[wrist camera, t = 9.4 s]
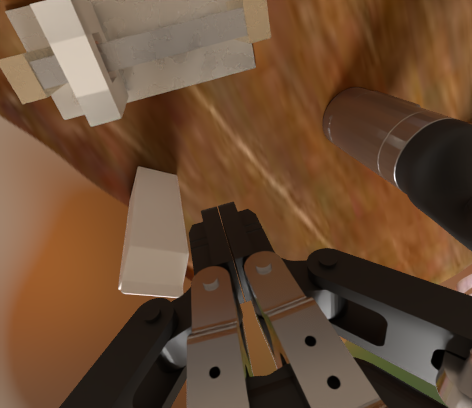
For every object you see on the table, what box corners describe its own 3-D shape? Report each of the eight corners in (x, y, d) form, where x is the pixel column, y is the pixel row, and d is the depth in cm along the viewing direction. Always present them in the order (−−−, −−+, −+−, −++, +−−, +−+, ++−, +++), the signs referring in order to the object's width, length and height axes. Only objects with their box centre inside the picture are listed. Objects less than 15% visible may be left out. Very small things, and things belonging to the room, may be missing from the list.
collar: (90, 1, 32) (68, -5, 23) (128, 96, 37) (121, 118, 29) (62, 8, 31) (29, 4, 23) (105, 102, 37) (90, 126, 29)
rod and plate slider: (237, -45, 34) (258, -61, 27) (254, 67, 41) (275, 77, 34) (6, 11, 32) (-36, 9, 25) (65, 119, 39) (45, 141, 32)
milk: (137, 165, 44) (125, 267, 26) (178, 174, 46) (193, 274, 28) (129, 200, 47) (113, 315, 28) (168, 207, 49) (176, 318, 31)
